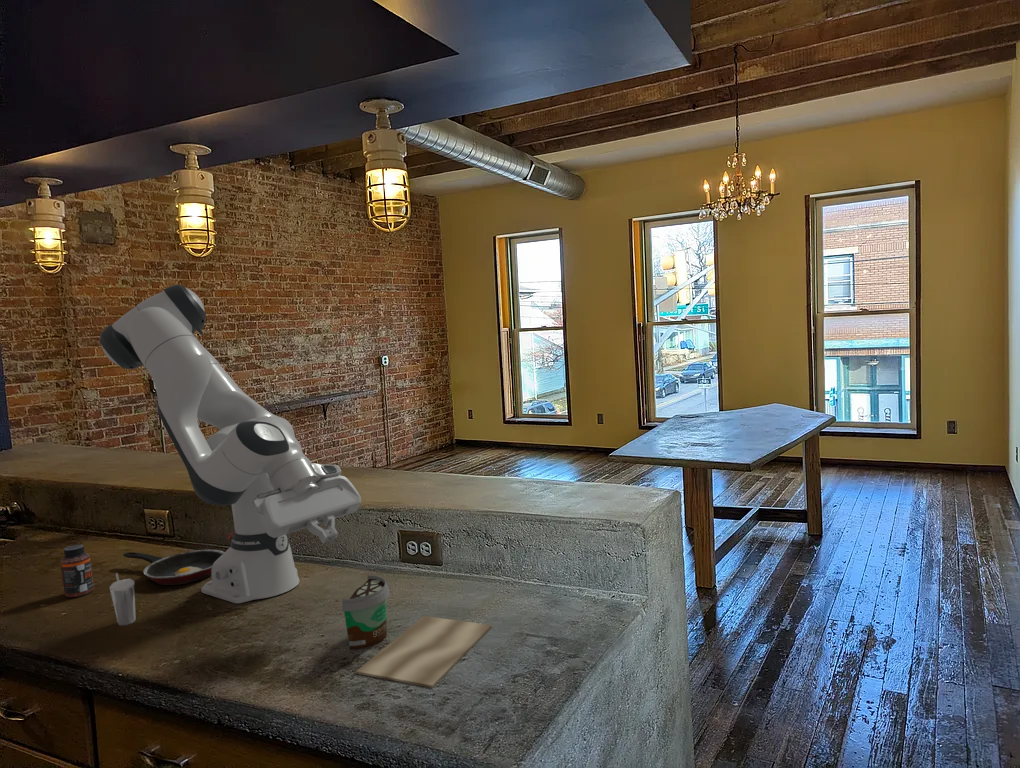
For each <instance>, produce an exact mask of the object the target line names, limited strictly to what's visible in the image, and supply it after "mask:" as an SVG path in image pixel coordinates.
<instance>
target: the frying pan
mask: <svg viewBox="0 0 1020 768" xmlns="http://www.w3.org/2000/svg"><path fill="white" fill-rule="evenodd" d="M225 552H226V551H223V550H218V549H198V550H197V549H196V550H190V551H183V552H180V553H177V554H176V553H175V554H172V555H170V556H166V557H163V556H156V555H153V554H148V553H141V552H133V551H131V552H130V551H129V552H124V553H123V554H122V555H123V557H125V558H129V559H137V560H143V561H146V562H147V563H149V564H148V565H147V566H146V567H144V569H143V571H142V572H143V574H144V575H145V577H148V578H149V579H150V580H151V581H154V582H155V583H157V584H159V585H163V586H174V585H184V584H189V583H194V582H196V581H200V580H203V579H205V578H207V577H211V570H212V566H213V564H214V562H215V561H216V560H217V559H218V558H219V557H220V556H222V555H223V554H224V553H225Z"/></svg>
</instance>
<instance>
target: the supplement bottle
mask: <svg viewBox="0 0 1020 768" xmlns="http://www.w3.org/2000/svg"><path fill="white" fill-rule="evenodd" d="M63 555H64V557H62V558H61V560H60V567H61V568H60V569H61V576H62V577H61V578H62V584H63V591H64V596H65V597H67V598H79V597H82V596H83V597H84V596H85V595H88V594H90V593H92V592H93V590H94V589H95V585H94V578H93V577H94V576H93V571H92V562H91V556H90V554H89V553H88V552H85V546H84V544H74V545H70V546H67V547H65V548H63Z"/></svg>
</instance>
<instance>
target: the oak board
mask: <svg viewBox="0 0 1020 768" xmlns="http://www.w3.org/2000/svg"><path fill="white" fill-rule="evenodd" d="M491 628H493V626H492V625H491V624H485V623H478V622H470V621H464V620H457V619H450V618H441V617H435V616H427V615H423V616H422V617H421V618H419V619H418V620H417V621H416V622H414V623H413V624H412V625H411V626H410V627H408V628H407V629H406V630H405V631H404V632H402V633H401V634H400V635H398V636H397V637H396V638H395V639H394V640H393V641H391V642H389V644H387V645H386V646H385V647H384V648H383V649H381V650H380V651H379V652H378V653H376V654H375V655H374V656H373V657H372V658H370V659H369V660H368V661H367V662H365V663H364V664H363V665H362V666H361V667H359V668H358V669H357V670H355V673H356V674H357V675H361V676H362V675H364V676H367V677H374V678H379V679H383V680H389V681H394V682H399V683H404V684H405V683H406V684H411V685H416V686H421V687H427V688H431V689H432V688H434V687H435V686H436V685H437V684H439V682H440V681H441V680H442V679H443V678H444V677H445V675H447V674H448V673H449V672H450V671H451V669H453V667H454V666H456V664H458V663H459V661H460V660H461V659H462V658H463V657H465V656H466V654H468V652H469V651H471V649H472V648H473V647H474V646H475V645H476V644H477V643H478V642H479V641H480V640H481V639H482V638H483V636H485V635H486V634H487V632H489V631H490V630H491Z"/></svg>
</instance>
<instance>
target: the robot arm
mask: <svg viewBox="0 0 1020 768" xmlns="http://www.w3.org/2000/svg"><path fill="white" fill-rule="evenodd" d="M206 318H207V313H206V312H205V305H204V304H203V302H202V300H201V298H200V297H199V296H198V294H196V293H195V292H194V291H193V290H191V289H190V288H187V287H185V286H184V285H182V284H179V283H177V284H173V285H169V286H168V287H166V288H163V291H161V292H158V293H156V294H154V295H152V296H150V297H149V298H146V299H144V300H143V301H142V302H141V301H140V302H139V303H138V304H136V306H135V307H133V308H132V309H130V310H128V312H126V313H125V314H123V315H122V316H121V317H120V318H118V319H117V320H116V321H115V322H114V323H113V324H108V325H107V326H106V327H105V328H104V329H103V330H102V332H101V333H100V334H99V343H100V346H101V349H102V351H103V353H104V354H105V356H106V358H107V359H108V360H110V362H112V363H113V364H115V365H117V366H119V367H121V368H122V369H124V370H134V369H138V368H140V367H142V366H144V368H145V369H146V370H147V372H148V373H149V375H150V377H151V379H152V381H153V385H154V388H155V391H156V395H157V396H156V398H157V402H156V403H157V405H156V407H157V408H156V409H157V413H158V415H159V417H160V420H161V421H162V423H163V426H164V429H166V432H167V433H168V436H169V438H170V440H171V441H172V443H173V445H174V448H175V450H176V451H177V453H178V454H179V456H180V458H181V461H182V462H183V465H184V466H185V468H186V471H187V474H188V476H189V480H190V483H191V486H192V488H193V491H194V492H195V494H196V496H198V498H199V499H200V500H201V501H203V502H204V503H205V504H208V505H212V506H218V507H219V506H221V507H223V506H229V505H230V506H231V510H232V516H233V524H234V526H233V527H234V531H232V532H230V533H227V534H225V535H226V536H228V537H227V538H226V540H229V539H231V542H230V545H229V548H228V549H226V551H224V552H225V553H224V554H223V555H222V556H220V557H219V558H218V559H217V560H216V561H215V562H214V564H213V566H212V570H211V575H210V577H211V579H210V580H209V581H208V582H206V583H205V584H204V585H202V586H201V588H200V589H201V590H200V592H201V593H203V594H206V595H209V596H212V597H214V598H217V599H221V600H224V601H227V602H230V603H233V604H243V603H247V602H250V601H253V600H261V599H267V598H271V597H275V596H279V595H282V594H284V593H286V592H289V591H290V590H292V589H294V588H295V587H297V585H299V584H300V578H299V575H298V573H299V572H298V568H296V565H295V561H294V557H293V552H292V548H291V547H292V546H291V544H290V537H291V536H290V534H292V533H294V532H297V531H301V530H304V529H307V531H308V532H309V533H311V534H313V535H315V536H316V537H318V538H319V540H320V541H321V543H327V542H329V541H333V540H335V539H337V538H338V536H339V533H338V531H337V529H336V527H335V526H336V519H338V518H341V517H344V516H347V515H350V514H353V513H356V512H357V511H358V509H359V508H360V506H361V504H362V497H361V495H360V493H359V492H358V490H357V489H356V487H355V486H354V484H353V483H352V482H351V480H349V478H347V477H346V476H345V475H341V474H342V469H341V467H340V466H339V465H337V464H323V463H315V462H312V461H311V460H310V458H309V457H307V456H306V455H305V454H304V452H303V447H302V445H301V444H300V442H299V441H298V439H297V437H296V436H295V435H296V434H295V431H294V428H293V426H292V425H291V423H290V422H289V421H288V420H287V419H286V418H284V417H281V416H279V415H275V413H272V412H270V411H269V410H267V409H266V408H265V407H263V406H262V405H260V404H259V403H258V402H256V401H255V400H254V399H253V398H251V397H250V396H249V395H248V394H247V393H246V392H244V391H243V390H242V389H241V388H240V386H239V385H238V384H236V382H235V381H234V380H233V378H231V376H230V375H229V374H228V372H227V371H226V370H225V369H224V368H223V366H222V365H221V364H220V362H218V360H217V359H216V358H215V357H214V356H213V355H212V353H210V351H208V350H207V348H206V347H204V346H203V345H202V343H200V341H199V340H198V339H197V337H196V336H195V331H196V330H197V332H198V333H199V334H200V336H203V335H204V332H203V328H204V326H205V324H206ZM198 421H201V422H202V423H205V424H208V425H211V426H213V427H214V428H216V429H218V430H217V431H216V432H215V433H213V434H212V435H210V436H209V437H208V438H207V439H206V437H205V436H204V434H203V432H202V430H201V428H200V426H199V424H198ZM322 523H323V524H324V526H326V527H328V528H326V529H324V528H323V527H321V526H319V525H320V524H322Z"/></svg>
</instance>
